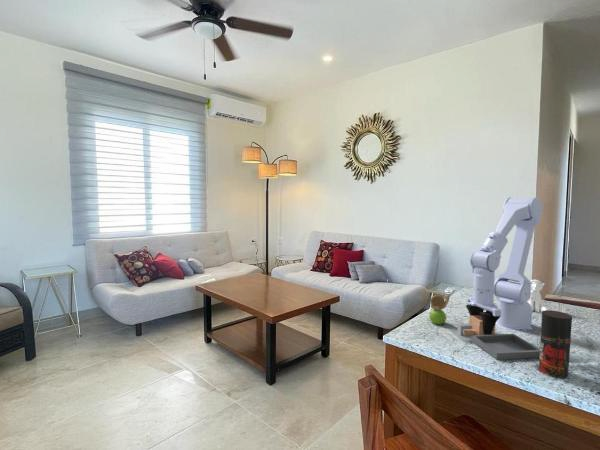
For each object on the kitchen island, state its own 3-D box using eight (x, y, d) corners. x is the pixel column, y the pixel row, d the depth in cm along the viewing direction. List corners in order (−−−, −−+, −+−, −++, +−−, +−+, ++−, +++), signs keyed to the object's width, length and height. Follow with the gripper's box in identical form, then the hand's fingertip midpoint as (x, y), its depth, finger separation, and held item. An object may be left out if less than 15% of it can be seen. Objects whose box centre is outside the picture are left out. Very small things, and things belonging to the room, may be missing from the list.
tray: (513, 341, 103) (513, 333, 103) (543, 359, 91) (544, 351, 91) (470, 343, 102) (471, 335, 101) (496, 361, 90) (496, 353, 90)
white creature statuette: (519, 311, 130) (521, 280, 129) (517, 304, 137) (519, 276, 136) (549, 315, 125) (551, 283, 124) (546, 308, 133) (547, 278, 132)
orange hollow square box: (484, 329, 110) (484, 315, 110) (494, 336, 105) (495, 321, 104) (459, 330, 109) (459, 316, 109) (468, 337, 104) (469, 322, 104)
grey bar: (482, 332, 108) (482, 321, 108) (486, 334, 106) (486, 323, 106) (457, 333, 108) (457, 322, 107) (460, 335, 106) (460, 324, 105)
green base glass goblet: (450, 328, 113) (451, 293, 112) (430, 326, 114) (431, 292, 113) (447, 322, 118) (448, 289, 117) (427, 321, 120) (428, 288, 119)
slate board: (487, 329, 112) (487, 327, 112) (506, 340, 103) (506, 338, 103) (447, 330, 111) (447, 329, 111) (462, 342, 102) (462, 340, 102)
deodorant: (533, 366, 88) (536, 310, 86) (554, 365, 88) (557, 309, 87) (551, 378, 82) (555, 319, 80) (574, 377, 82) (578, 318, 81)
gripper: (458, 283, 113) (457, 322, 114) (486, 295, 98) (484, 340, 100) (478, 282, 113) (476, 321, 115) (508, 295, 99) (506, 339, 100)
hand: (481, 330), depth 107 cm, fingers closed on orange hollow square box, 5 cm apart
